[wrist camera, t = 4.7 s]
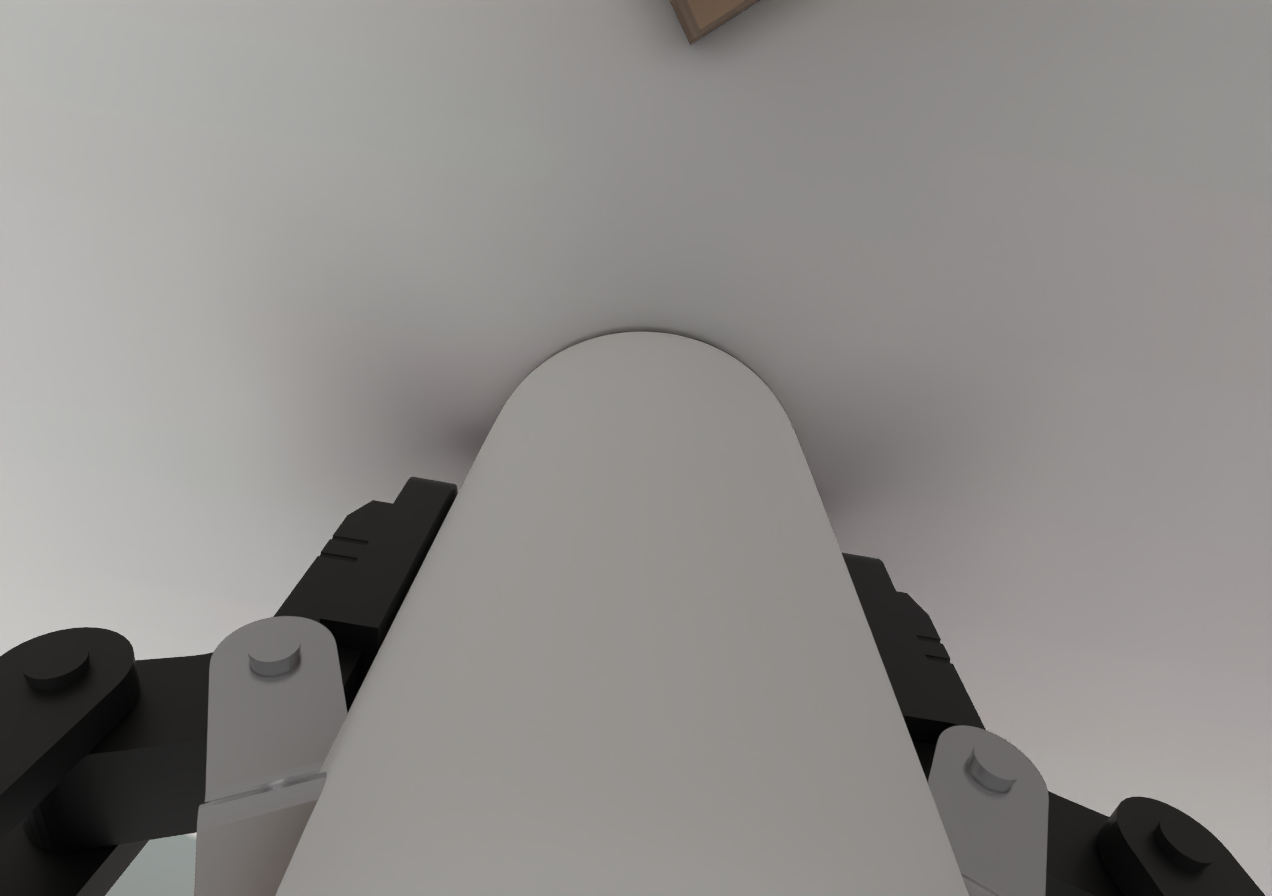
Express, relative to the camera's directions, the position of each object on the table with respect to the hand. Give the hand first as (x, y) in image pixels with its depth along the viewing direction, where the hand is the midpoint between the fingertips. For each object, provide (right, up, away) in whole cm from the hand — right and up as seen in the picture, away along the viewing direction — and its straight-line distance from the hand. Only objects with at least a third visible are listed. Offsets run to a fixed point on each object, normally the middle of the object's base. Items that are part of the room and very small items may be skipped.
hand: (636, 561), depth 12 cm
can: (0, +2, +3) cm, 3 cm away
